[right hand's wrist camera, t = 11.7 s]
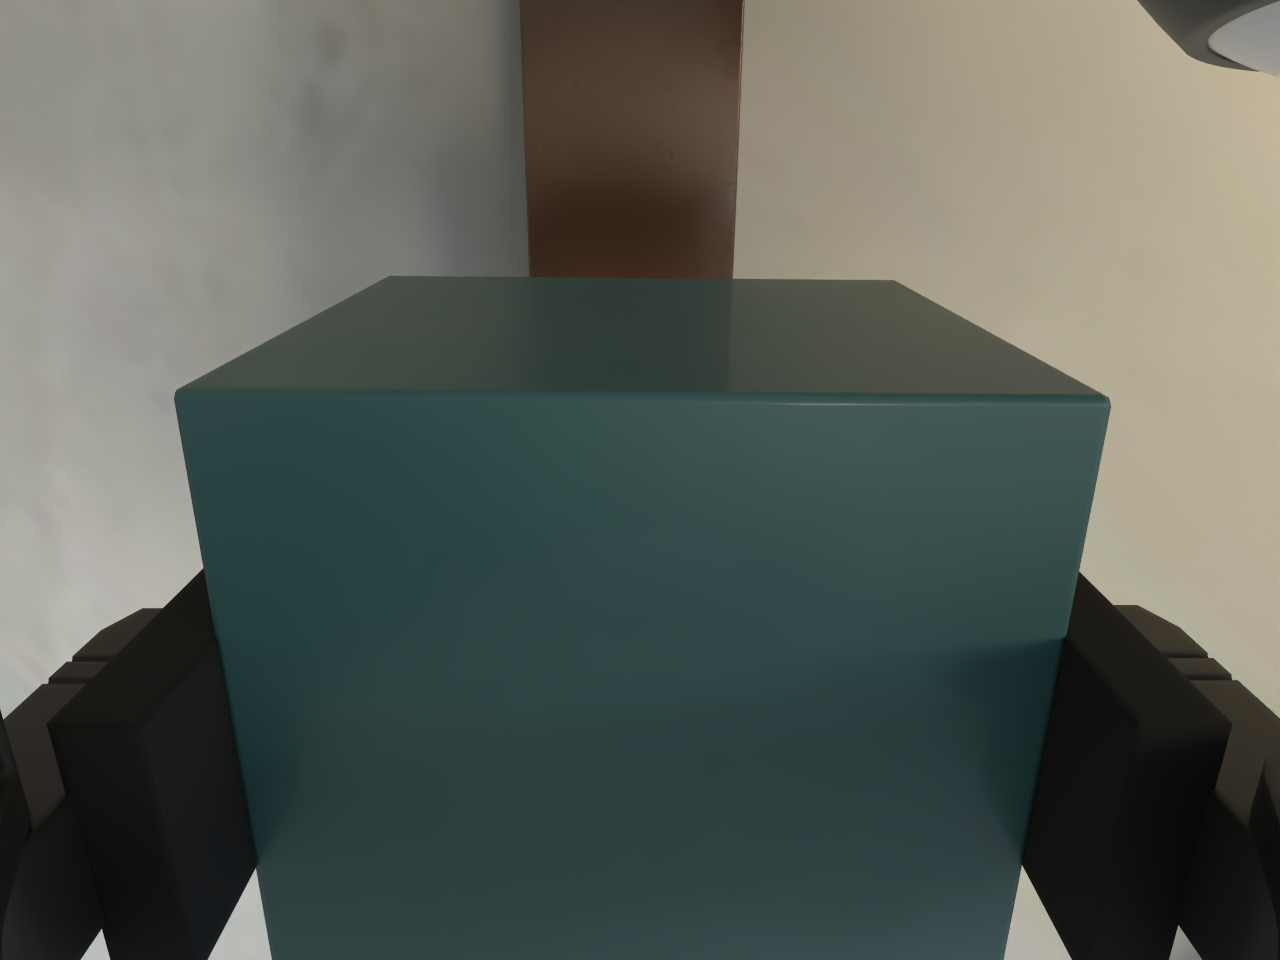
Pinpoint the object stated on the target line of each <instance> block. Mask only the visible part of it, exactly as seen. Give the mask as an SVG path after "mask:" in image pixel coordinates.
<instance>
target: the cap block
mask: <svg viewBox="0 0 1280 960" xmlns="http://www.w3.org/2000/svg"><path fill="white" fill-rule="evenodd" d="M174 401H175V407H176V412H177V418H178V424H179V430H180V435H181V441H182V447H183V453H184V458H185V464H186V470H187V475H188V481H189V487H190V493H191V498H192V504H193V510H194V515H195V521H196V527H197V533H198V538H199V544H200V550H201V556H202V561H203V567H204V573H205V578H206V584H207V590H208V596H209V601H210V607H211V613H212V618H213V624H214V630H215V636H216V641H217V647H218V653H219V659H220V664H221V670H222V676H223V681H224V687H225V692H226V698H227V703H228V709H229V714H230V720H231V725H232V731H233V736H234V742H235V747H236V753H237V758H238V764H239V769H240V775H241V780H242V786H243V791H244V797H245V802H246V808H247V813H248V819H249V824H250V830H251V835H252V841H253V846H254V852H255V857H256V863H257V866H256V870H257V876H258V882H259V887H260V893H261V899H262V905H263V910H264V916H265V922H266V928H267V933H268V939H269V945H270V950H271V956H272V960H1003V959H1004V954H1005V949H1006V944H1007V939H1008V933H1009V928H1010V923H1011V918H1012V913H1013V908H1014V903H1015V897H1016V892H1017V887H1018V882H1019V877H1020V872H1021V866H1022V861H1023V856H1024V851H1025V846H1026V841H1027V836H1028V830H1029V825H1030V820H1031V814H1032V809H1033V804H1034V798H1035V793H1036V788H1037V782H1038V777H1039V772H1040V766H1041V761H1042V755H1043V750H1044V745H1045V739H1046V734H1047V729H1048V723H1049V718H1050V713H1051V707H1052V702H1053V696H1054V691H1055V686H1056V680H1057V675H1058V670H1059V664H1060V659H1061V653H1062V648H1063V643H1064V637H1065V636H1066V635H1067V630H1068V625H1069V619H1070V614H1071V609H1072V604H1073V599H1074V594H1075V589H1076V583H1077V578H1078V573H1079V568H1080V563H1081V558H1082V553H1083V547H1084V542H1085V537H1086V532H1087V527H1088V522H1089V517H1090V511H1091V506H1092V501H1093V496H1094V491H1095V486H1096V481H1097V475H1098V470H1099V465H1100V460H1101V455H1102V450H1103V444H1104V439H1105V434H1106V429H1107V424H1108V419H1109V414H1110V408H1111V405H1110V399H1109V397H1107V396H1105V395H1103V394H1101V393H1100V392H1098V391H1096V390H1094V389H1092V388H1090V387H1089V386H1087V385H1085V384H1083V383H1081V382H1080V381H1078V380H1076V379H1074V378H1072V377H1070V376H1069V375H1067V374H1065V373H1063V372H1061V371H1059V370H1058V369H1056V368H1054V367H1052V366H1050V365H1048V364H1047V363H1045V362H1043V361H1041V360H1039V359H1037V358H1036V357H1034V356H1032V355H1030V354H1028V353H1026V352H1025V351H1023V350H1021V349H1019V348H1017V347H1015V346H1014V345H1012V344H1010V343H1008V342H1006V341H1004V340H1003V339H1001V338H999V337H997V336H995V335H993V334H992V333H990V332H988V331H986V330H984V329H982V328H981V327H979V326H977V325H975V324H973V323H971V322H970V321H968V320H966V319H964V318H962V317H960V316H959V315H957V314H955V313H953V312H951V311H949V310H948V309H946V308H944V307H942V306H940V305H938V304H937V303H935V302H933V301H931V300H929V299H927V298H926V297H924V296H922V295H920V294H918V293H916V292H915V291H913V290H911V289H909V288H907V287H905V286H904V285H902V284H900V283H898V282H896V281H894V280H792V279H673V278H554V277H434V276H389V277H387V278H385V279H383V280H381V281H379V282H377V283H375V284H373V285H372V286H370V287H368V288H366V289H364V290H362V291H360V292H358V293H357V294H355V295H353V296H351V297H349V298H347V299H345V300H344V301H342V302H340V303H338V304H336V305H334V306H332V307H330V308H329V309H327V310H325V311H323V312H321V313H319V314H317V315H315V316H314V317H312V318H310V319H308V320H306V321H304V322H302V323H301V324H299V325H297V326H295V327H293V328H291V329H289V330H287V331H286V332H284V333H282V334H280V335H278V336H276V337H274V338H273V339H271V340H269V341H267V342H265V343H263V344H261V345H259V346H258V347H256V348H254V349H252V350H250V351H248V352H246V353H244V354H243V355H241V356H239V357H237V358H235V359H233V360H231V361H230V362H228V363H226V364H224V365H222V366H220V367H218V368H216V369H215V370H213V371H211V372H209V373H207V374H205V375H203V376H202V377H200V378H198V379H196V380H194V381H192V382H190V383H188V384H187V385H185V386H183V387H181V388H179V389H177V390H176V392H175V397H174Z"/></svg>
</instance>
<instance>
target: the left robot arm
mask: <svg viewBox="0 0 1280 960" xmlns="http://www.w3.org/2000/svg"><path fill="white" fill-rule="evenodd" d="M1137 1H1138V2H1139V3H1140V4H1141V5H1142V6H1143V7H1144V9H1145V10H1146V11H1147V12H1148V13H1149V14H1150V16H1151V17H1152V18H1153V19H1154V20H1155V21H1156V23H1157V24H1158V25H1159V26H1160V27H1161V28H1162V29H1163V30H1164V31H1165V32H1166V33H1167V34H1168V35H1169V36H1170V37H1171V38H1172V39H1173V40H1174V41H1175V42H1176V43H1177V44H1178V45H1179V46H1180V47H1181V49H1182V50H1183V51H1184V52H1185V53H1186V54H1187V55H1189V56H1191V57H1193V58H1194V59H1196V60H1199V61H1202V62H1205V63H1208V64H1212V65H1216V66H1221V67H1227V68H1233V69H1240V70H1249V71H1258V72H1264V73H1267V74H1270V75H1273V76H1276V77H1279V78H1280V0H1137Z"/></svg>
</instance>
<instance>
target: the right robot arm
mask: <svg viewBox="0 0 1280 960" xmlns="http://www.w3.org/2000/svg"><path fill="white" fill-rule="evenodd" d="M72 657H73V659H72V662H66V663H65V664H64V665H63V666H62V667H60V668H59V669H58V670H57V671H56V672H55V673H54V674H53V675H52V676H51V677H50V678H49V682H48V684H42V685H41V686H40V687H39V688H38V689H36V690H35V691H34V692H33V693H32V694H31V695H30V696H29V697H28V698H27V699H26V700H24V701H23V702H22V703H21V704H20V705H19V706H18V707H17V708H16V709H15V710H13V711H12V712H11V713H10V714H9V715H8V716H7V717H6V718H5V719H4V720H3V717H2V714H1V710H0V960H81V958H82V957H83V955H84V954H85V952H86V951H87V949H88V948H89V946H90V945H91V943H92V942H93V941H94V939H95V938H96V936H97V935H98V933H99V932H100V930H101V929H102V930H103V934H104V938H105V941H106V945H107V949H108V952H109V956H110V960H208V958H209V956H210V954H211V952H212V950H213V948H214V946H215V944H216V942H217V940H218V939H219V937H220V935H221V933H222V931H223V929H224V927H225V925H226V923H227V921H228V920H229V918H230V916H231V914H232V912H233V910H234V908H235V906H236V904H237V902H238V901H239V899H240V897H241V895H242V893H243V891H244V889H245V887H246V885H247V883H248V881H249V880H250V878H251V876H252V874H253V872H254V870H255V868H256V866H257V863H256V857H255V852H254V846H253V841H252V835H251V830H250V824H249V819H248V813H247V808H246V802H245V797H244V791H243V786H242V780H241V775H240V769H239V764H238V758H237V753H236V747H235V742H234V736H233V731H232V725H231V720H230V714H229V709H228V703H227V698H226V692H225V687H224V681H223V676H222V670H221V664H220V659H219V653H218V647H217V641H216V636H215V630H214V624H213V618H212V613H211V607H210V601H209V596H208V590H207V584H206V578H205V573H204V568H203V569H202V570H201V571H200V572H199V573H198V574H197V575H196V576H195V577H194V578H193V579H192V580H191V581H190V582H189V583H188V584H187V585H186V586H185V587H184V588H183V589H182V590H181V591H180V592H179V593H178V594H177V595H176V596H175V597H174V598H173V599H172V600H171V601H170V602H169V603H168V604H167V605H166V606H165V607H164V608H142V609H140V610H139V611H137V612H135V613H133V614H131V615H129V616H127V617H125V618H124V619H122V620H120V621H118V622H116V623H114V624H112V625H110V626H108V627H107V628H105V629H103V630H101V631H100V632H99V633H98V634H97V635H95V636H94V637H93V638H92V639H91V640H90V641H89V642H88V643H87V644H86V645H84V646H83V647H82V648H81V649H80V650H79V651H78V652H77V653H76V654H75V655H74V656H72ZM1022 865H1023V867H1024V869H1025V871H1026V873H1027V875H1028V877H1029V879H1030V881H1031V883H1032V884H1033V886H1034V888H1035V890H1036V892H1037V894H1038V896H1039V898H1040V900H1041V902H1042V904H1043V905H1044V907H1045V909H1046V911H1047V913H1048V915H1049V917H1050V919H1051V921H1052V923H1053V924H1054V926H1055V928H1056V930H1057V932H1058V934H1059V936H1060V938H1061V940H1062V942H1063V944H1064V945H1065V947H1066V949H1067V951H1068V953H1069V955H1070V957H1071V959H1072V960H1169V957H1170V954H1171V950H1172V946H1173V942H1174V939H1175V935H1176V931H1177V928H1178V925H1179V926H1180V928H1181V929H1182V931H1183V932H1184V933H1185V935H1186V936H1187V938H1188V939H1189V941H1190V942H1191V944H1192V945H1193V947H1194V948H1195V950H1196V951H1197V952H1198V954H1199V955H1200V957H1201V958H1202V960H1280V718H1279V717H1278V716H1276V715H1275V714H1274V713H1273V712H1272V711H1271V710H1270V709H1269V708H1268V707H1266V706H1265V705H1264V704H1263V703H1262V702H1261V701H1260V700H1259V699H1258V698H1257V697H1255V696H1254V695H1253V694H1252V693H1251V692H1250V691H1249V690H1248V689H1247V688H1246V687H1244V686H1243V685H1242V684H1241V683H1240V682H1239V681H1238V680H1232V678H1231V674H1230V673H1229V672H1228V671H1227V670H1226V669H1225V668H1224V667H1222V666H1221V665H1220V664H1219V663H1218V662H1217V661H1216V660H1215V659H1214V658H1208V653H1207V652H1206V651H1205V650H1204V649H1203V648H1202V647H1200V646H1199V645H1198V644H1197V643H1196V642H1195V641H1194V640H1193V639H1192V638H1191V637H1189V636H1188V635H1187V634H1186V633H1185V632H1184V631H1183V630H1182V629H1181V628H1180V627H1178V626H1176V625H1174V624H1172V623H1170V622H1168V621H1166V620H1165V619H1163V618H1161V617H1159V616H1157V615H1155V614H1153V613H1151V612H1149V611H1147V610H1146V609H1144V608H1142V607H1140V606H1138V605H1112V604H1111V603H1110V602H1109V601H1108V600H1107V599H1106V598H1105V597H1104V596H1103V595H1102V594H1101V593H1100V592H1099V591H1098V590H1097V589H1096V588H1095V587H1094V586H1093V585H1092V584H1091V583H1090V582H1089V581H1088V580H1087V579H1086V578H1085V577H1084V576H1083V575H1082V574H1081V573H1080V572H1079V573H1078V578H1077V583H1076V589H1075V594H1074V599H1073V604H1072V609H1071V614H1070V619H1069V625H1068V630H1067V635H1066V636H1065V637H1064V643H1063V648H1062V653H1061V659H1060V664H1059V670H1058V675H1057V680H1056V686H1055V691H1054V696H1053V702H1052V707H1051V713H1050V718H1049V723H1048V729H1047V734H1046V739H1045V745H1044V750H1043V755H1042V761H1041V766H1040V772H1039V777H1038V782H1037V788H1036V793H1035V798H1034V804H1033V809H1032V814H1031V820H1030V825H1029V830H1028V836H1027V841H1026V846H1025V851H1024V856H1023V861H1022Z"/></svg>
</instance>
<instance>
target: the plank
mask: <svg viewBox="0 0 1280 960" xmlns="http://www.w3.org/2000/svg"><path fill="white" fill-rule="evenodd" d="M519 1H520V28H521V56H522V84H523V112H524V140H525V168H526V196H527V224H528V251H529V277H554V278H673V279H733V261H734V238H735V214H736V191H737V167H738V143H739V120H740V96H741V73H742V49H743V26H744V2H745V0H519Z"/></svg>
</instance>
